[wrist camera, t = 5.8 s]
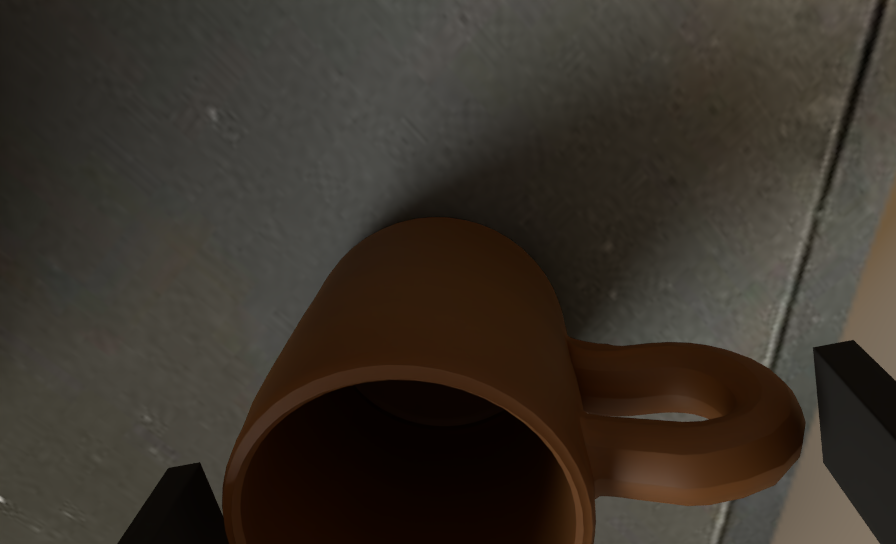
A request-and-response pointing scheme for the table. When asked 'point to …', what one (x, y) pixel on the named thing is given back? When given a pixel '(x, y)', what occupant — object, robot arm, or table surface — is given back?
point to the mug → (484, 409)
